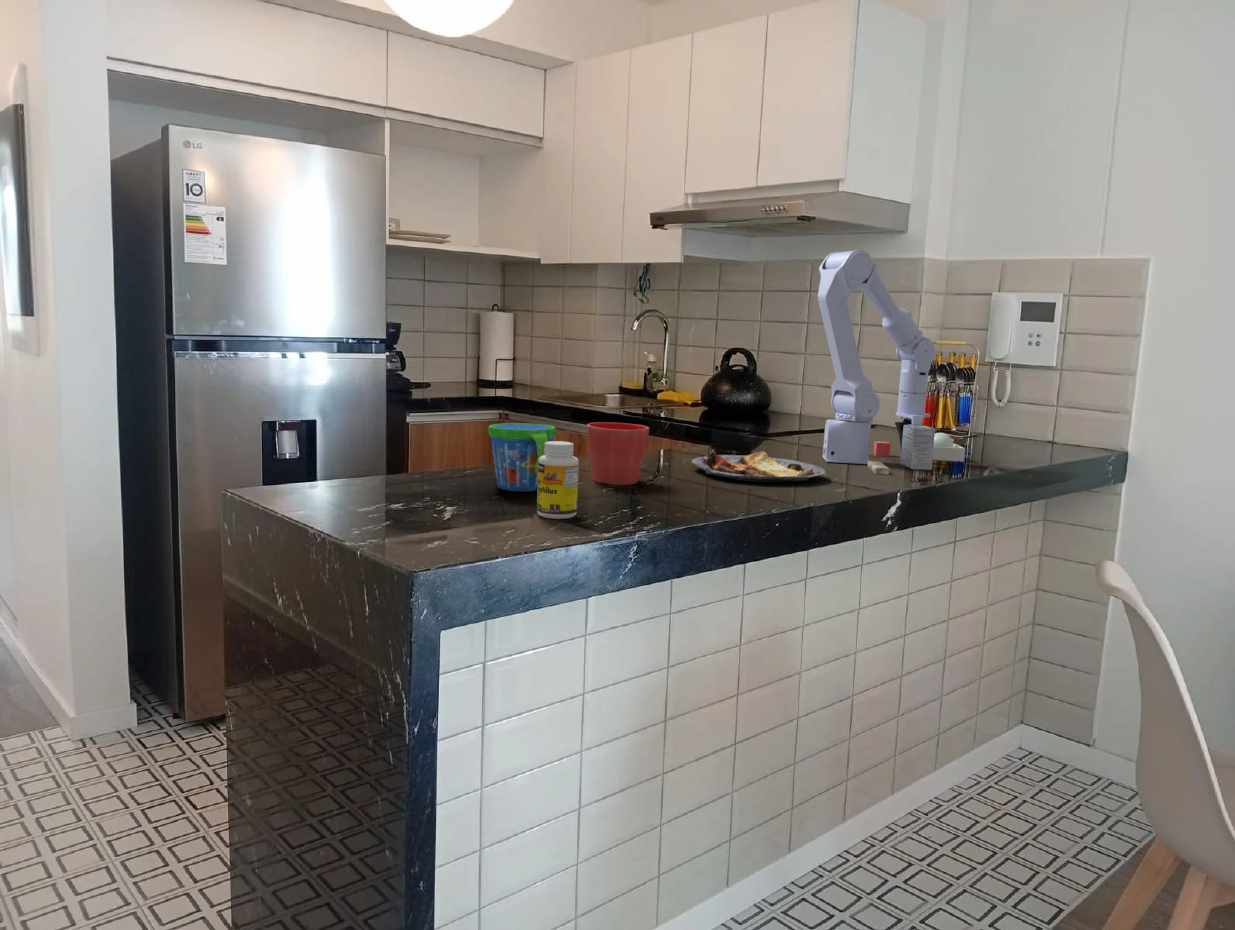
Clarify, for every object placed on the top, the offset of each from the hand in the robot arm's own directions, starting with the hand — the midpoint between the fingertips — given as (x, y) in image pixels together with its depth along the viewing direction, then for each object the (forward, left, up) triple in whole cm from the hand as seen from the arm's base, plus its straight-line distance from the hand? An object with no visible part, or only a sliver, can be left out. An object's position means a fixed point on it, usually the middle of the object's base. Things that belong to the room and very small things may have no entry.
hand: (906, 454), depth 202 cm
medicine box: (0, -9, -2) cm, 9 cm away
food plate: (-34, -32, -2) cm, 47 cm away
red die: (-4, +8, -1) cm, 9 cm away
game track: (-9, -18, -1) cm, 20 cm away
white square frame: (+9, +9, -1) cm, 13 cm away
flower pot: (-59, -49, -2) cm, 77 cm away
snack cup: (-73, -62, -2) cm, 96 cm away
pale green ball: (+9, +9, -1) cm, 13 cm away
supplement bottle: (-64, -81, -2) cm, 103 cm away
